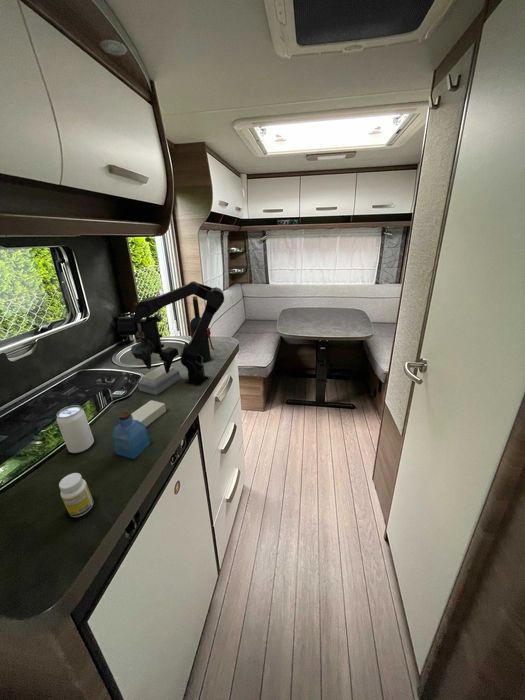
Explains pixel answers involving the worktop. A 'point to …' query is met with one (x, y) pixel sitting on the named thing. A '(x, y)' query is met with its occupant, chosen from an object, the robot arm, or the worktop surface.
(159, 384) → the grey books
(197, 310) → the wine bottle
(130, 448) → the perfume bottle
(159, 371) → the white book
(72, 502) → the supplement bottle
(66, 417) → the can
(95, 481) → the worktop surface
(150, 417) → the white books
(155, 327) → the robot arm
